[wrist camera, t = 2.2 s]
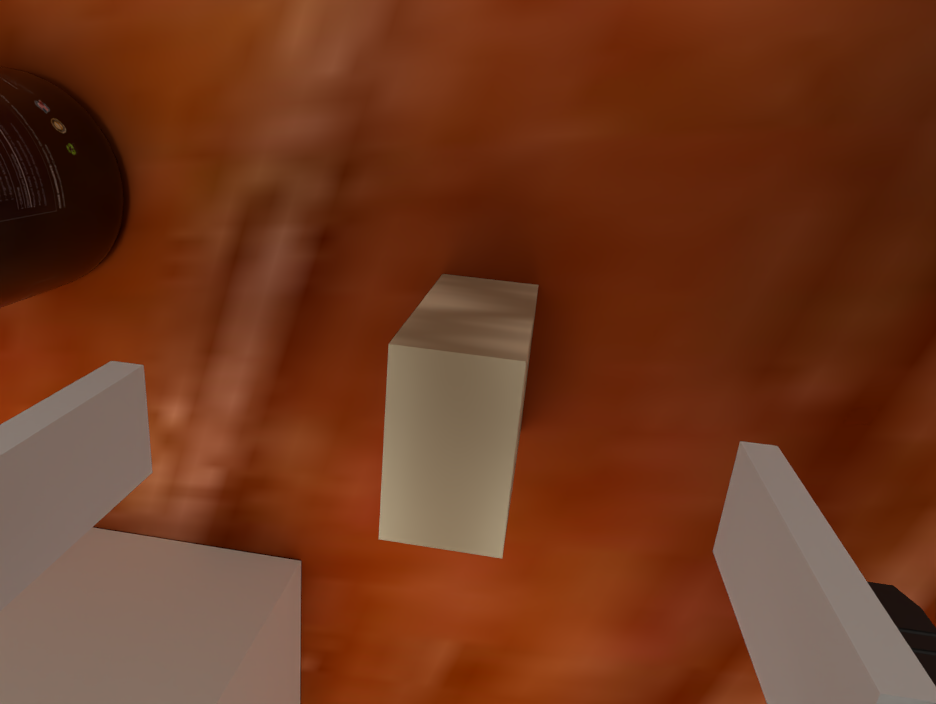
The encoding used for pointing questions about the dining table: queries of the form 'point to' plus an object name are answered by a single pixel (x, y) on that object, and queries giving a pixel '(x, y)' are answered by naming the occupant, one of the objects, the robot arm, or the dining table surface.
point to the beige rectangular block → (456, 415)
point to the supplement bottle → (52, 188)
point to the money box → (154, 626)
